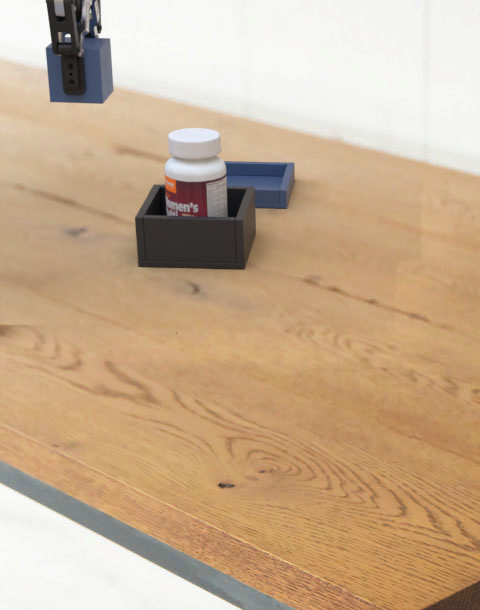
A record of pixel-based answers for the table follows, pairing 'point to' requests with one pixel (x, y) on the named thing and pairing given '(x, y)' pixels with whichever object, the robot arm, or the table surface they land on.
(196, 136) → the pill bottle
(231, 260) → the charcoal bin
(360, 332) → the table surface
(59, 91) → the blue block
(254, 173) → the blue tray
